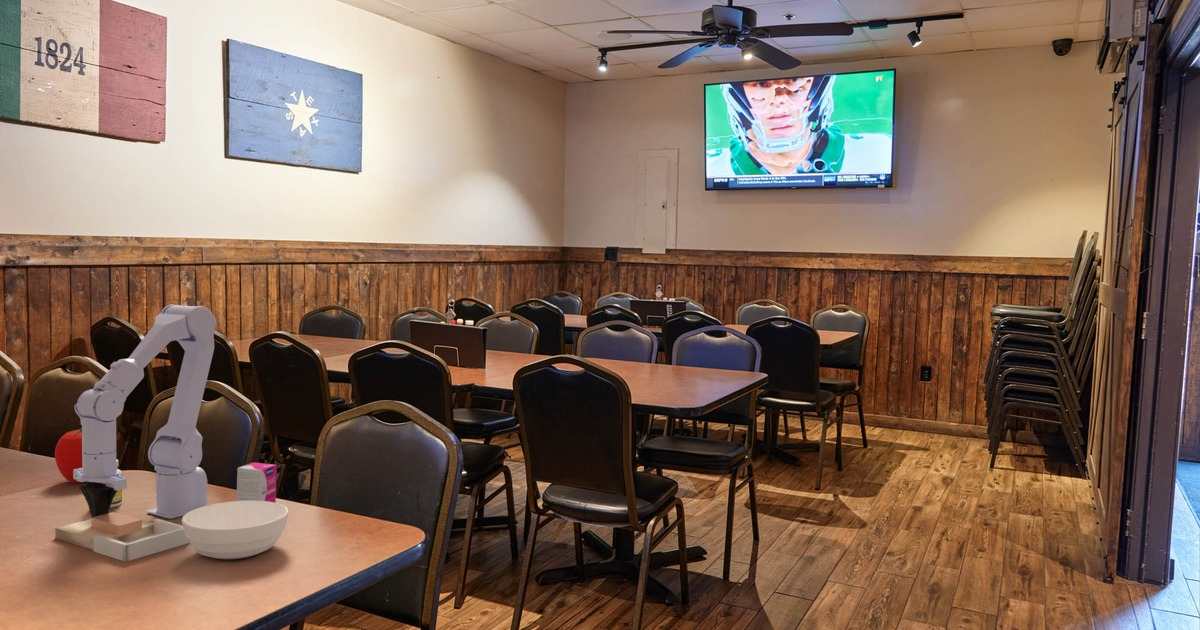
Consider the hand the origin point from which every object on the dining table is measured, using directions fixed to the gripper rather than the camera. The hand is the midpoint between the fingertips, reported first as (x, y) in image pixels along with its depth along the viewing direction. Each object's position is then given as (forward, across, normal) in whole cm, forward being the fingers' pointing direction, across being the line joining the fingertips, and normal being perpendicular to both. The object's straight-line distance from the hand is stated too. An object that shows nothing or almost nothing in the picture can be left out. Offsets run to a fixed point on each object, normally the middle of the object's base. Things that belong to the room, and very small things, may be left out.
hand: (99, 520), depth 169 cm
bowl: (+3, +30, +8) cm, 31 cm away
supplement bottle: (+3, -18, +12) cm, 21 cm away
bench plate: (+3, +2, 0) cm, 3 cm away
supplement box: (+3, +16, +23) cm, 29 cm away
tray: (+3, +14, 0) cm, 14 cm away
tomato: (+3, -41, +20) cm, 45 cm away
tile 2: (+1, +8, 0) cm, 8 cm away
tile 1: (+1, +3, 0) cm, 3 cm away
